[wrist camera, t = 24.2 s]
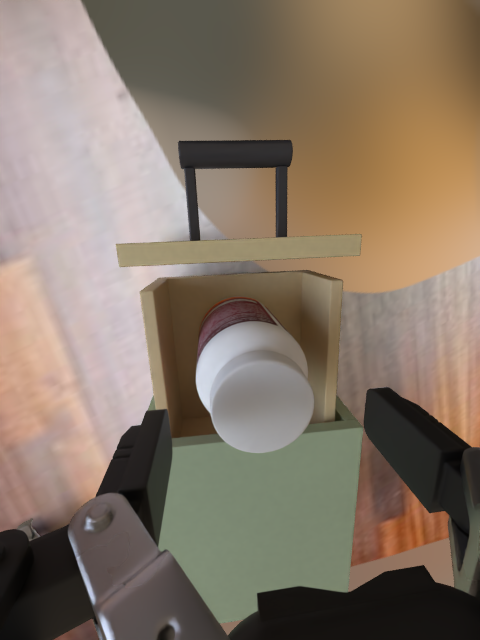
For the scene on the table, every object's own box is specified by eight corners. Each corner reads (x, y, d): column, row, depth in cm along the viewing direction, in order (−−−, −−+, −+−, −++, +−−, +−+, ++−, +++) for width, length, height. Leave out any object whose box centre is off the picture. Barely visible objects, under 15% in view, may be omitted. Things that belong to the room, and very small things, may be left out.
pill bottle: (185, 346, 23) (164, 437, 12) (222, 279, 22) (236, 316, 11) (250, 378, 24) (283, 485, 13) (289, 317, 23) (357, 381, 12)
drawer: (134, 163, 20) (96, 123, 13) (319, 160, 21) (370, 122, 14) (166, 420, 26) (152, 482, 19) (311, 406, 27) (345, 460, 20)
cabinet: (157, 382, 25) (132, 451, 17) (315, 369, 27) (363, 427, 18) (176, 523, 30) (163, 633, 22) (310, 505, 31) (347, 602, 23)
